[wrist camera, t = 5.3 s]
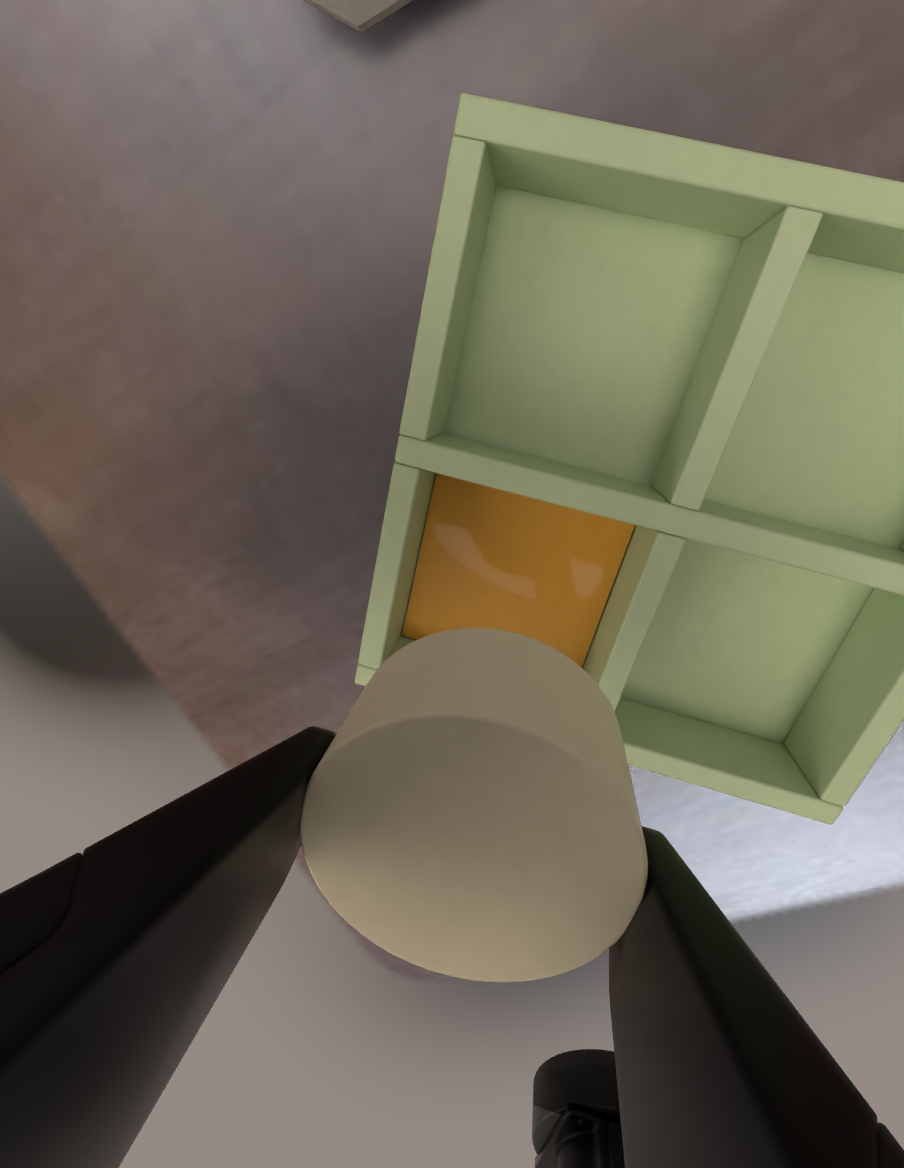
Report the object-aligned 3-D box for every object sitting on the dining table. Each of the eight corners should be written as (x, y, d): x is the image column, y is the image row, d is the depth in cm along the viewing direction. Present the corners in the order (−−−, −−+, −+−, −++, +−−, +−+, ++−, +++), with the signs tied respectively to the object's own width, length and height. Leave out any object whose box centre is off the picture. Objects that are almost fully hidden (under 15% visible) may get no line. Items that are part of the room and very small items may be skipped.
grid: (787, 756, 17) (832, 826, 14) (382, 639, 18) (353, 684, 16) (1072, 280, 12) (1232, 246, 9) (478, 153, 13) (460, 90, 10)
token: (572, 878, 10) (580, 1023, 8) (339, 805, 10) (282, 923, 8) (665, 673, 8) (711, 783, 6) (380, 592, 8) (319, 667, 6)
